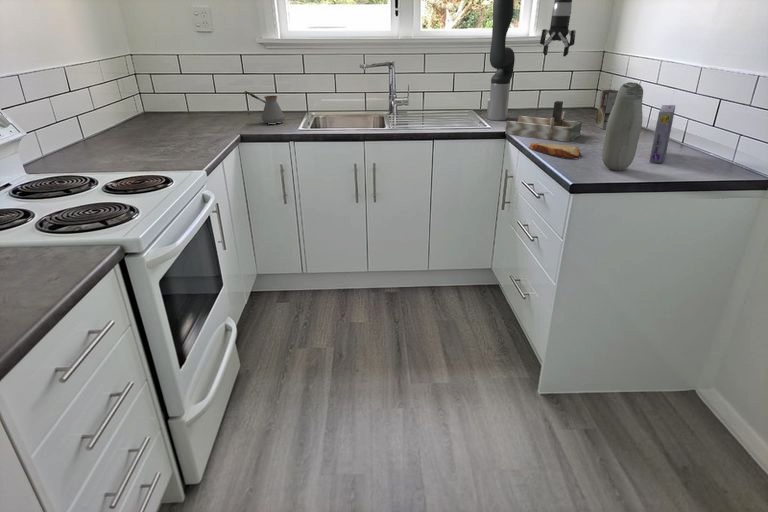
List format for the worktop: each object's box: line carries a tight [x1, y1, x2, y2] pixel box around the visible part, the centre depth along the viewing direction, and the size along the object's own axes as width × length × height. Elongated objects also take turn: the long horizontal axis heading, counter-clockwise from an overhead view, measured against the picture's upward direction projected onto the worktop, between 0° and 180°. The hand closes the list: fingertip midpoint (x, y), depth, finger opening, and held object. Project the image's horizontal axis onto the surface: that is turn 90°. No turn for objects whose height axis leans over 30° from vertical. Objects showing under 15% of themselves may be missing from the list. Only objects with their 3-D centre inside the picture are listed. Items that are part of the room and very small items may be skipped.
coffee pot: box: [242, 90, 286, 123], centre depth 244 cm, size 21×12×15 cm, turn 68°
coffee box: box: [594, 89, 618, 130], centre depth 222 cm, size 9×6×16 cm
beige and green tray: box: [504, 111, 583, 143], centre depth 212 cm, size 28×17×9 cm, turn 54°
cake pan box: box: [649, 104, 676, 164], centre depth 175 cm, size 19×5×18 cm, turn 150°
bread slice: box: [528, 142, 582, 159], centre depth 186 cm, size 18×18×4 cm
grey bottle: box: [601, 81, 644, 171], centre depth 160 cm, size 10×10×28 cm
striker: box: [549, 100, 564, 127], centre depth 208 cm, size 2×12×11 cm, turn 144°
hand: (555, 55), depth 215 cm, fingers open, 8 cm apart
